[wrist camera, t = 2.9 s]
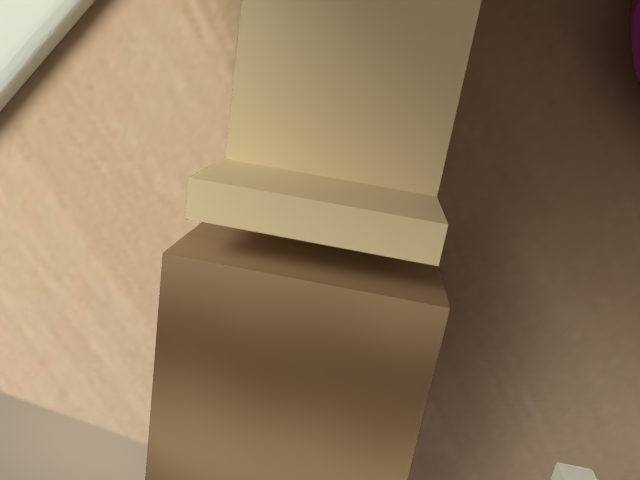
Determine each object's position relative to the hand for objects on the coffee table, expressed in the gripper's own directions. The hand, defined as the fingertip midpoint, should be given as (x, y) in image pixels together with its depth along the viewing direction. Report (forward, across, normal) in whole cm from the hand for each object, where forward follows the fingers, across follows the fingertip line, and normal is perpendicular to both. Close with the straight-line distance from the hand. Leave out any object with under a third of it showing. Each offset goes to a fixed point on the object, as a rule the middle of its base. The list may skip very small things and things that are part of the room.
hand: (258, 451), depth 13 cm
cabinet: (+12, 0, 0) cm, 12 cm away
